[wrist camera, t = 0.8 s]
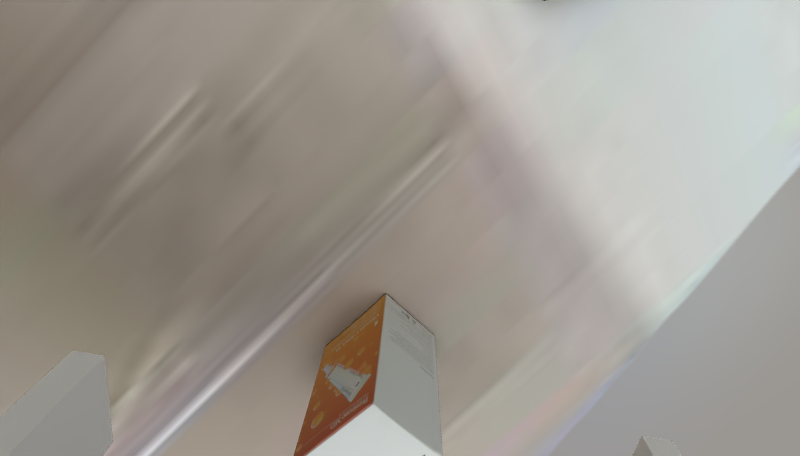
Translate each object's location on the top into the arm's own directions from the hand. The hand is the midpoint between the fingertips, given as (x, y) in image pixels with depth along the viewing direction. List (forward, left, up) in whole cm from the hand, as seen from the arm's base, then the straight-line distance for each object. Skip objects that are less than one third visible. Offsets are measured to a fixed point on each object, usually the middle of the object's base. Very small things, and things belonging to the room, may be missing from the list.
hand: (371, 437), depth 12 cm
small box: (+12, -10, -26) cm, 31 cm away
